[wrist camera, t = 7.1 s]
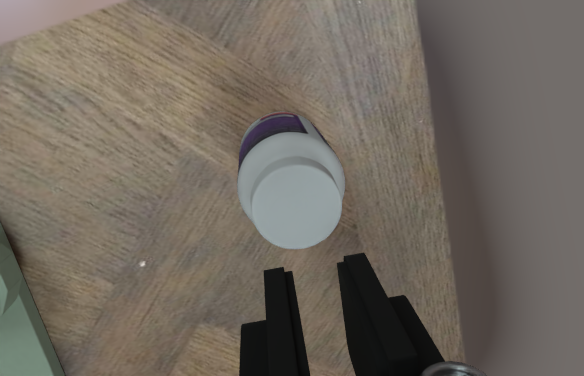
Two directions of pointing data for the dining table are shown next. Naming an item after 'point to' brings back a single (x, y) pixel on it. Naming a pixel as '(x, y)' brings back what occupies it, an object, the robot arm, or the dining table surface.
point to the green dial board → (21, 324)
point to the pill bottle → (289, 181)
